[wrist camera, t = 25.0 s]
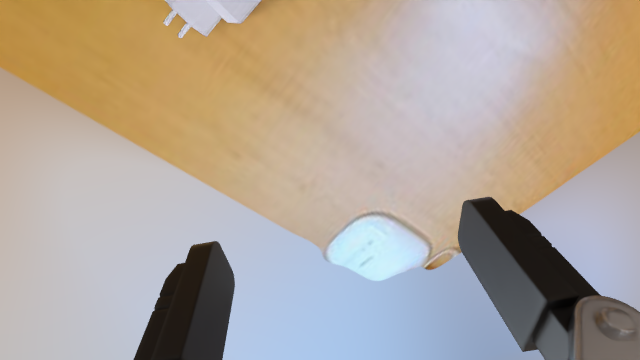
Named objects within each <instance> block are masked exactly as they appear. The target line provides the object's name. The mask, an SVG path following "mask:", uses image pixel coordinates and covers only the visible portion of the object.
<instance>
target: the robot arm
mask: <svg viewBox="0 0 640 360" xmlns="http://www.w3.org/2000/svg"><path fill="white" fill-rule="evenodd" d="M458 241H459V246H460V249H461V251H462V253H463V255H464V256H465V258H466V260H467V261H468V263H469V264H470V266H471V268H472V269H473V271H474V273H475V274H476V276H477V278H478V279H479V281H480V283H481V284H482V286H483V287H484V289H485V290H486V292H487V294H488V296H489V297H490V299H491V301H492V302H493V304H494V305H495V307H496V309H497V310H498V312H499V314H500V315H501V317H502V319H503V320H504V322H505V324H506V325H507V327H508V329H509V330H510V332H511V333H512V335H513V337H514V338H515V340H516V342H517V343H518V345H519V347H520V348H521V350H522V351H523V352H524V351H531V350H537V349H538V350H539V351H540V353H541V354H542V356H543V357H544V359H545V360H640V312H639V311H637V310H636V309H634V308H633V307H631V306H629V305H627V304H625V303H623V302H621V301H619V300H616V299H613V298H609V297H605V296H601V295H600V294H599V293H598V292H597V291H595V289H594V288H593V287H592V286H591V285H590V284H589V283H588V282H587V281H586V280H585V279H584V278H583V277H582V276H581V275H580V274H579V273H578V272H577V270H576V269H574V267H573V266H572V265H571V264H570V263H569V262H568V261H567V260H566V259H565V258H564V257H563V256H562V255H561V254H560V253H559V252H558V251H557V249H555V247H552V244H551V243H550V242H549V241H548V240H547V239H546V238H545V237H544V236H542V235H541V233H540V232H539V231H538V230H537V228H536V227H535V226H534V225H533V224H532V223H531V222H530V221H529V220H527V219H525V218H524V217H522V216H520V215H519V214H517V213H515V212H514V211H512V210H508V211H504V210H503V209H502V208H501V206H500V205H499V204H498V203H497V202H496V201H495V200H494V199H493V198H491V197H485V198H479V199H473V200H467V201H464V203H463V206H462V212H461V218H460V225H459V231H458ZM234 287H235V282H234V274H233V271H232V269H231V267H230V265H229V262H228V260H227V258H226V256H225V254H224V252H223V250H222V248H221V246H220V244H219V243H218V242H217V241H214V242H209V243H202V244H196V245H193V246H192V247H191V248H190V250H189V253H188V256H187V259H186V262H185V263H181V264H177V266H176V267H175V268H174V270H173V271H172V272H171V273H170V274H169V276H168V277H167V278H166V280H165V283H164V285H163V287H162V290H161V292H160V298H158V300H157V303H156V305H155V311H153V312H152V315H151V318H150V320H149V322H148V325H147V328H146V330H145V333H144V335H143V337H142V340H141V343H140V345H139V347H138V350H137V353H136V355H135V358H134V360H222V358H223V352H224V346H225V341H226V335H227V329H228V323H229V317H230V312H231V306H232V300H233V294H234Z"/></svg>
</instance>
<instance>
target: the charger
mask: <svg viewBox="0 0 640 360" xmlns="http://www.w3.org/2000/svg"><path fill="white" fill-rule="evenodd" d="M165 1H166V2H167V3H168V5H169V6H170V7H171V8H172V11H171V12H170V13H169V15H168V16H167V17H166V19H165V20H164V21H163V22H164V24H165V25H167V26H168V25H169V23H170V22H171V21H172V19H173V18H174V17H175V15H176V14H179V15H180V16H181V17H182V18H183V19H184V20H185V21H186V22H187V23H186V24H185V26H184V27H183V28H182V29H181V31H180V32H179V33H178V37H179V38H182V37H183V36H184V35H185V34H186V32H187V31H188V30H189V28H190V27H191V26H192V27H193V28H194V29H196V30H197V31H198V32H200V33H201V34H202V35H204V36H206V37H207V36H208V34H209V33H210V32H211V31H212V30H213V28H214V27H215V26H216V25H217V23H218V22H219V21H220V20H221V19H222V18H223V19H224V20H225V21H226V22H228V23H242V22H243V21H244V20H245V19H246V18H247V17H248V15H249V14H250V13H251V12H252V11H253V10H254V8H255V7H256V6H257V5H258V4H259V3H260V1H261V0H165Z"/></svg>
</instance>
